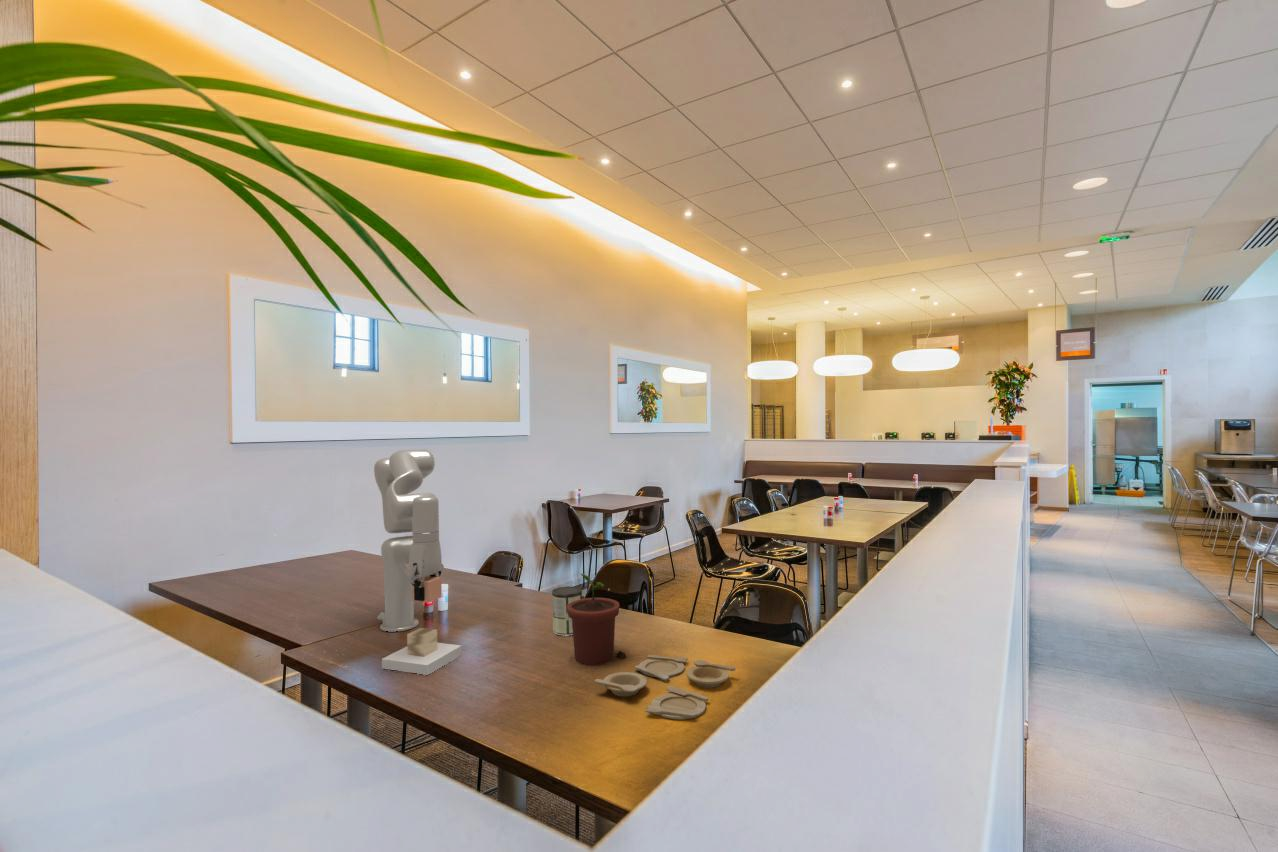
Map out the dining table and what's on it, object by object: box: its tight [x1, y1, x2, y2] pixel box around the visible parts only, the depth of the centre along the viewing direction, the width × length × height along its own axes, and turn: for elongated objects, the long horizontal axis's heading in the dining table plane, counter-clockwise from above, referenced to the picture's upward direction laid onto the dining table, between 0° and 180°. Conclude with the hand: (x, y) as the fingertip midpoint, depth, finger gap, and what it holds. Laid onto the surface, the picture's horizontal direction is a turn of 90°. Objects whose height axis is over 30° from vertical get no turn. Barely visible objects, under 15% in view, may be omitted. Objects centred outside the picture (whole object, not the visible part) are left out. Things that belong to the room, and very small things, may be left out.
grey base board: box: [381, 642, 463, 676], centre depth 180 cm, size 16×16×3 cm
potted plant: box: [567, 573, 627, 666], centre depth 184 cm, size 18×22×25 cm
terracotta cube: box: [412, 576, 443, 603], centre depth 181 cm, size 6×6×6 cm
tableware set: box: [594, 654, 736, 720], centre depth 160 cm, size 35×29×4 cm
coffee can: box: [551, 586, 583, 637], centre depth 206 cm, size 10×10×14 cm
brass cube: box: [406, 627, 438, 657], centre depth 180 cm, size 6×6×6 cm
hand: (426, 596), depth 181 cm, fingers closed on terracotta cube, 6 cm apart
